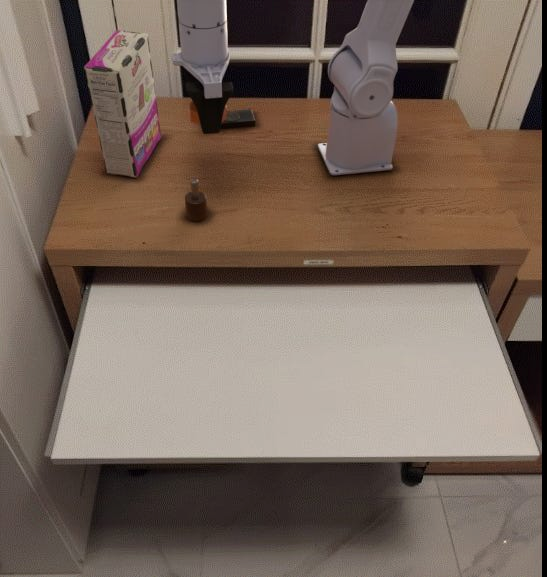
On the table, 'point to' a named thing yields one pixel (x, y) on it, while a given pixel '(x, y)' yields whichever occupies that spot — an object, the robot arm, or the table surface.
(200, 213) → the brown cylinder with stem
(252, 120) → the hob plate
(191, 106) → the ring
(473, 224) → the table surface
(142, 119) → the candy bar box
